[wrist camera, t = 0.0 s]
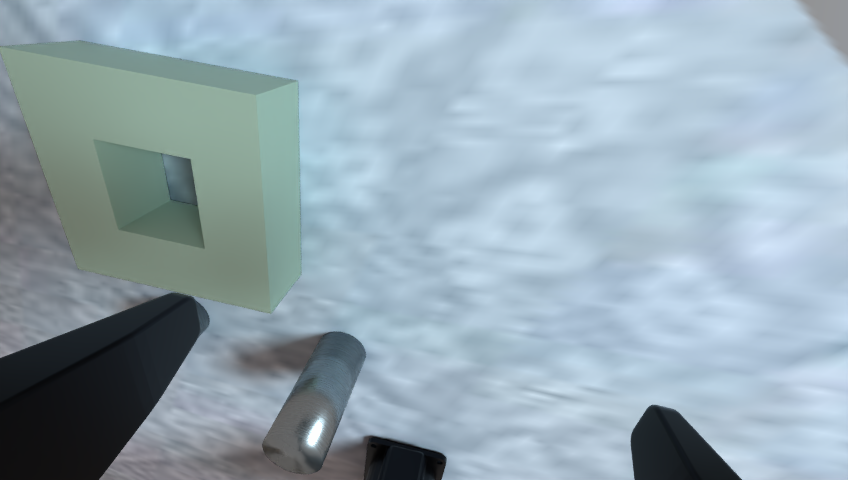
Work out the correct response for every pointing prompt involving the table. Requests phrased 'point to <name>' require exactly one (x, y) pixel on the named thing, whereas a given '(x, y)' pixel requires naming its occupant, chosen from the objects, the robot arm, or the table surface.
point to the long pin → (315, 405)
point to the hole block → (145, 175)
